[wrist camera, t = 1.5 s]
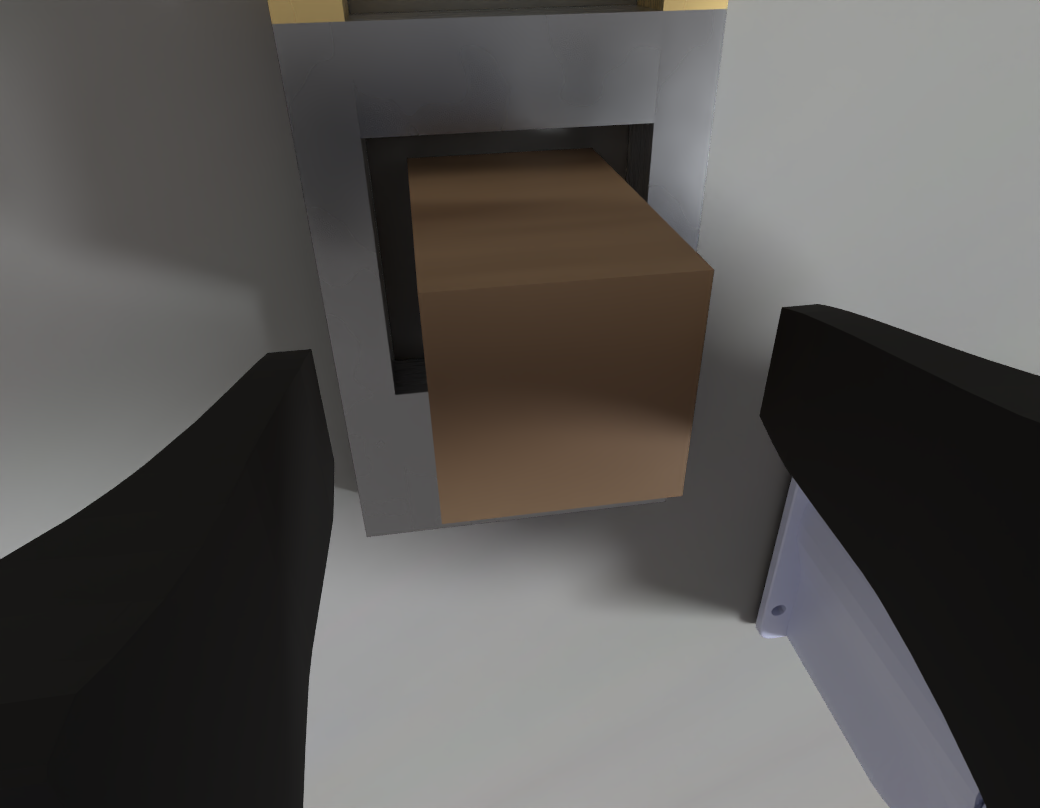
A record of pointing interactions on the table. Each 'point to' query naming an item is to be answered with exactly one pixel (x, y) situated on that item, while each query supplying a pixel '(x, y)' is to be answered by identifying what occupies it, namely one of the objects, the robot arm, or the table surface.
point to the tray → (466, 109)
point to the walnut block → (553, 333)
